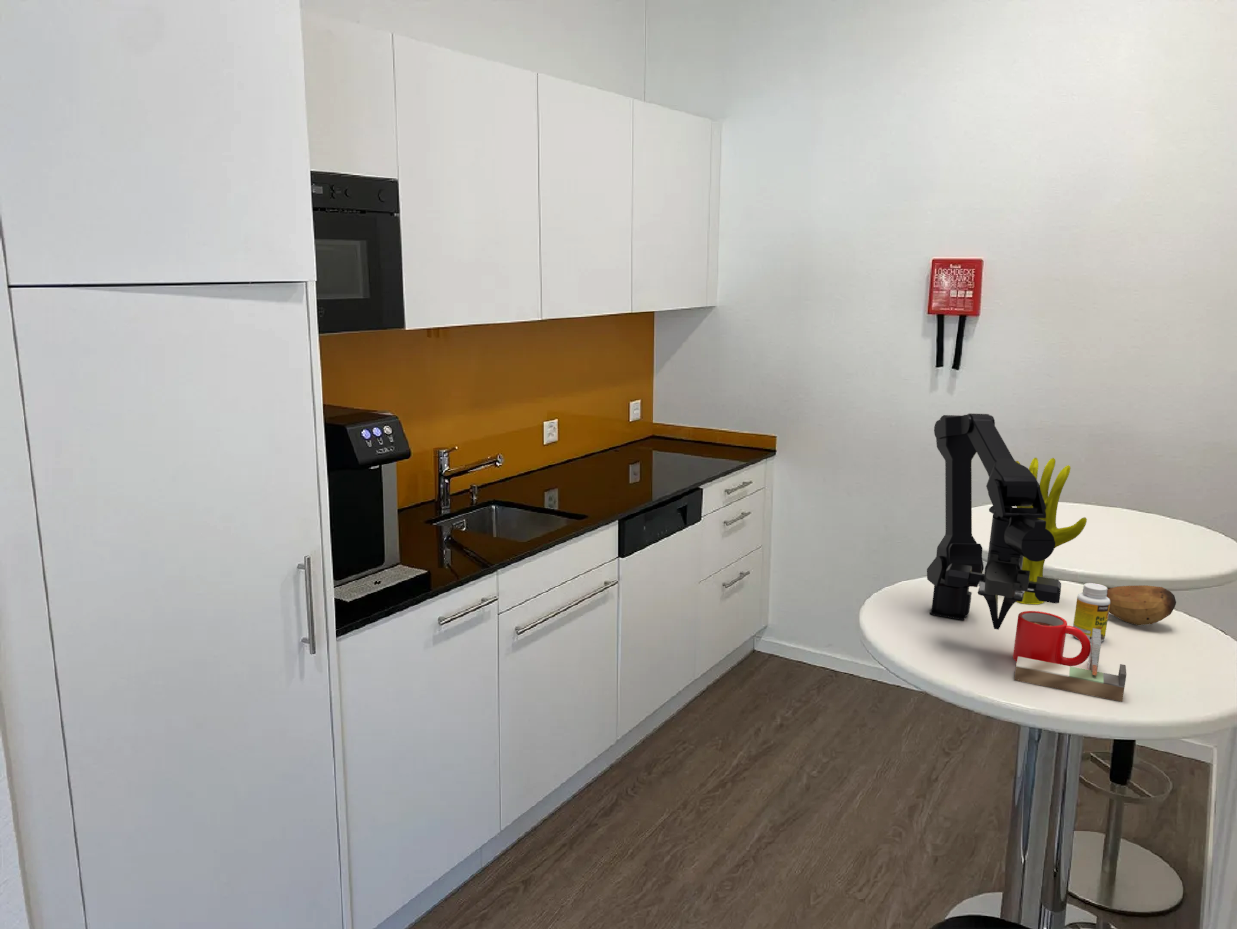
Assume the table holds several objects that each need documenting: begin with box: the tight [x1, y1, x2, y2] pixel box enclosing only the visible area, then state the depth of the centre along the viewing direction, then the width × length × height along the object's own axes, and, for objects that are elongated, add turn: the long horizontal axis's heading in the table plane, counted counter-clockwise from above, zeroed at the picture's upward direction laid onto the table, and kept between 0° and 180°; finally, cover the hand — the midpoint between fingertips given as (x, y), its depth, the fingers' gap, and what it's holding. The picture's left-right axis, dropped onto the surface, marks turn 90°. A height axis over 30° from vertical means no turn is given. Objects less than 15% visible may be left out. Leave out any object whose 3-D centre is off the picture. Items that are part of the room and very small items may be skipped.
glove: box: [1015, 457, 1088, 606], centre depth 196 cm, size 15×8×30 cm, turn 49°
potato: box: [1106, 584, 1177, 627], centre depth 187 cm, size 8×14×8 cm
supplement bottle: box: [1072, 582, 1110, 643], centre depth 178 cm, size 6×6×10 cm
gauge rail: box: [1014, 656, 1127, 702], centre depth 156 cm, size 16×4×5 cm, turn 64°
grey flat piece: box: [1087, 628, 1102, 675], centre depth 160 cm, size 1×14×6 cm, turn 154°
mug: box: [1012, 610, 1091, 667], centre depth 165 cm, size 8×12×8 cm, turn 60°
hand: (996, 628), depth 169 cm, fingers closed
